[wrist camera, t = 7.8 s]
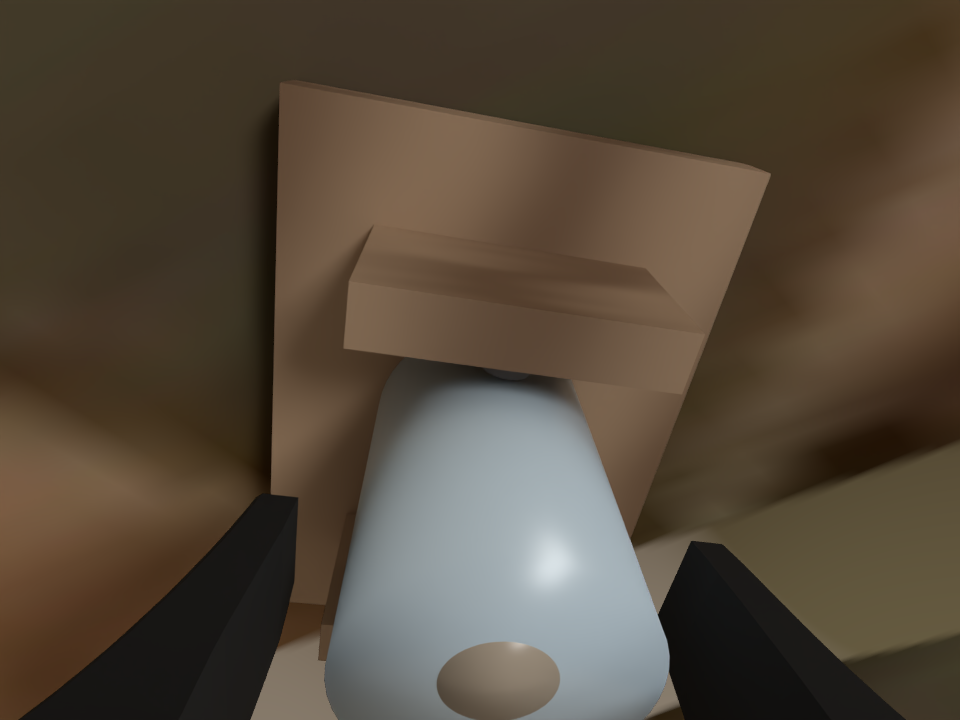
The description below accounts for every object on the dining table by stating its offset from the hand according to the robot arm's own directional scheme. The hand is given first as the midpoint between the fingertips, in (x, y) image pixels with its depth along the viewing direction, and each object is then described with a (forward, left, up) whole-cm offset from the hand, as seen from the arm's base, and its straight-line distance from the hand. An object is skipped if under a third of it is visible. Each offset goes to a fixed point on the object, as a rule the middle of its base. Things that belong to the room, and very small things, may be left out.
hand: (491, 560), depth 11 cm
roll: (0, 0, -5) cm, 5 cm away
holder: (0, 0, -6) cm, 6 cm away
